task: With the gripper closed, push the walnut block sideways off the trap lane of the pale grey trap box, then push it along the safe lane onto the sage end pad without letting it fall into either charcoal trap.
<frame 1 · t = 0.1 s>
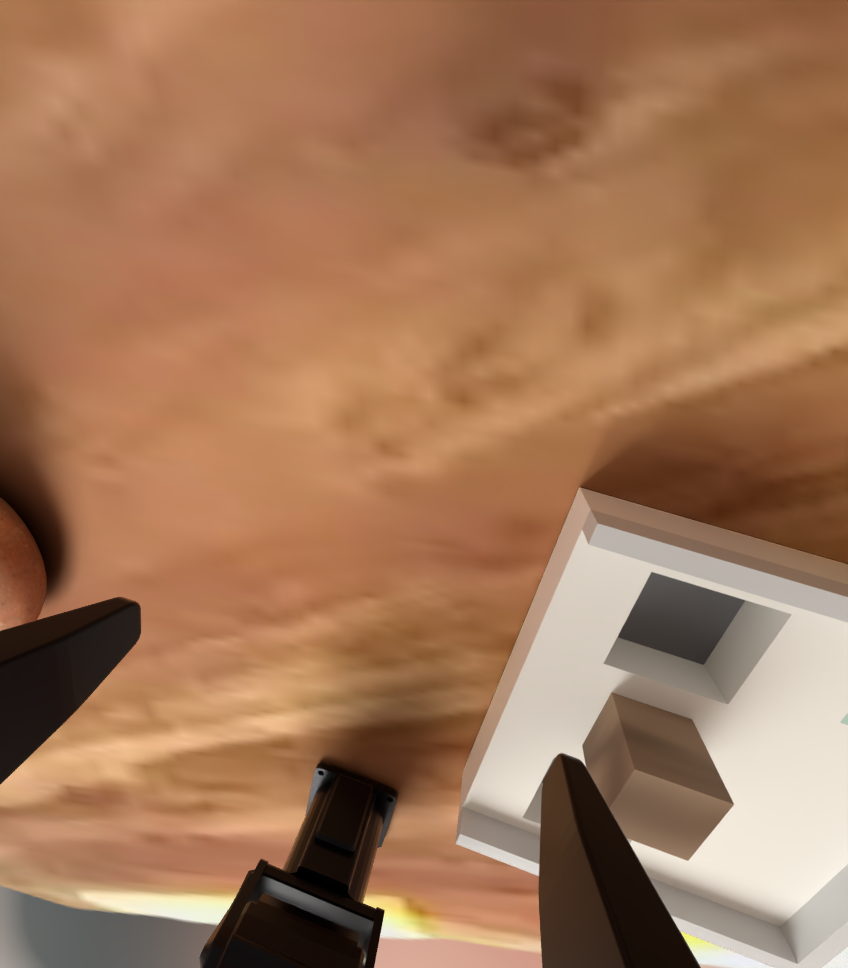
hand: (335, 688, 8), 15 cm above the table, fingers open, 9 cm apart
walnut block: (634, 733, 21), point 3 cm above the table, touching trap box
trap box: (680, 707, 23), on the table
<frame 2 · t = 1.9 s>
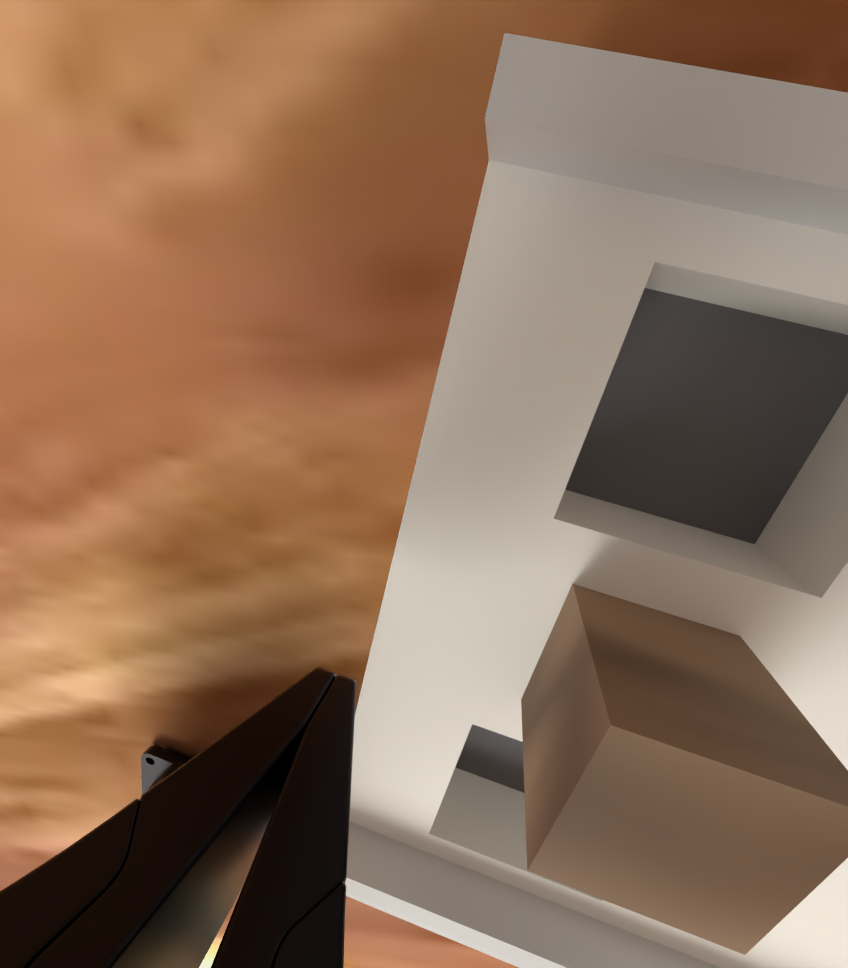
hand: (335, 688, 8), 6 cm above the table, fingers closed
walnut block: (620, 670, 10), point 3 cm above the table, touching trap box
trap box: (706, 636, 13), on the table
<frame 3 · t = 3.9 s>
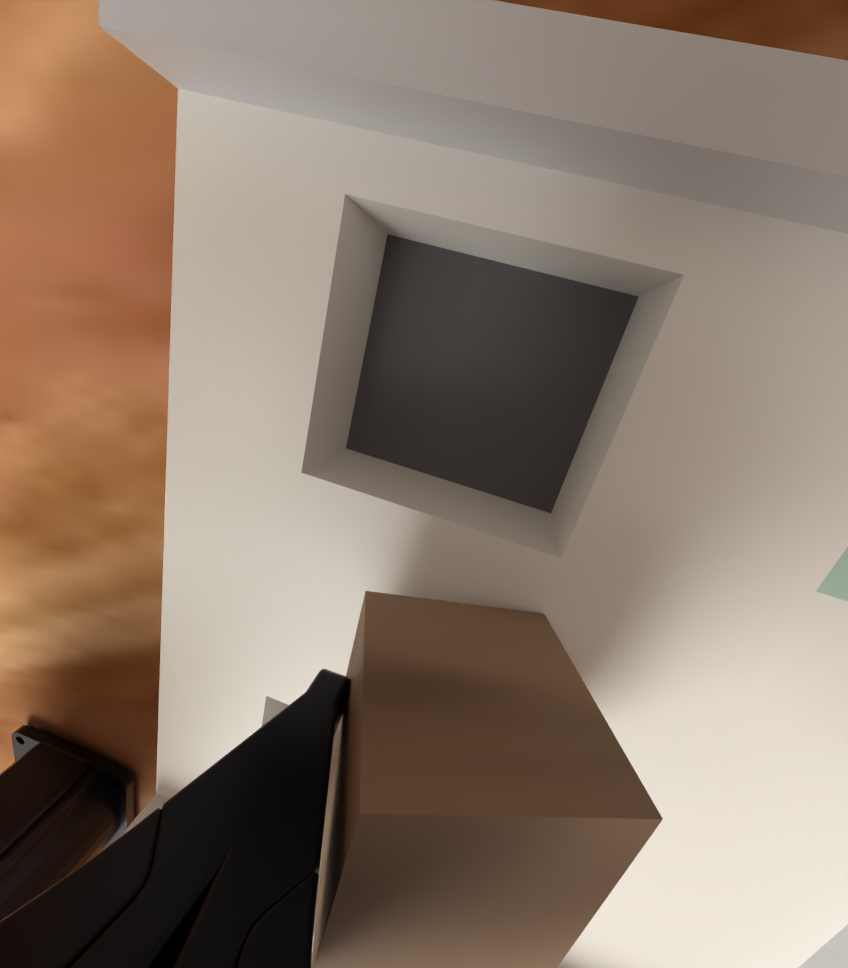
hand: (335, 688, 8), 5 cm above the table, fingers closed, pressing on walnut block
walnut block: (435, 672, 9), point 4 cm above the table, tilted 19°, touching gripper, trap box
trap box: (525, 613, 12), on the table
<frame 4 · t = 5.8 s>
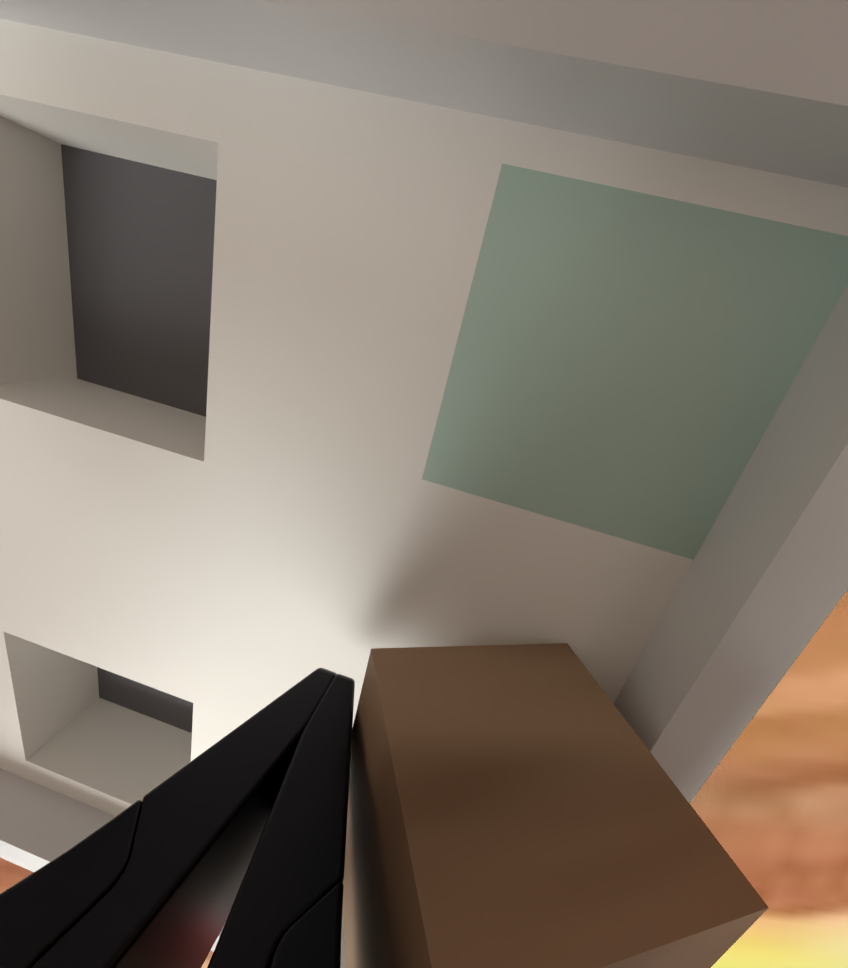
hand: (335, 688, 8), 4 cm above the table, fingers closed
walnut block: (450, 721, 8), point 4 cm above the table, tilted 27°, touching gripper, trap box
trap box: (282, 546, 12), on the table
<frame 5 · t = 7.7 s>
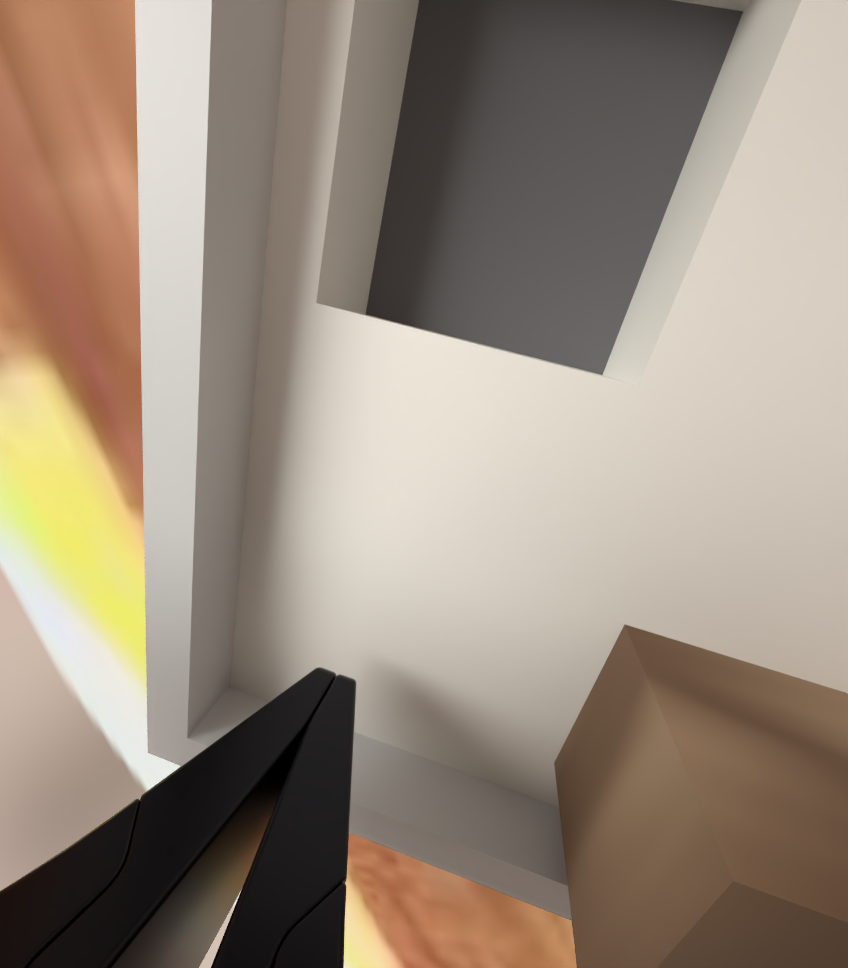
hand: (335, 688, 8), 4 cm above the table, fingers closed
walnut block: (684, 731, 8), point 3 cm above the table, touching trap box
trap box: (746, 436, 9), on the table
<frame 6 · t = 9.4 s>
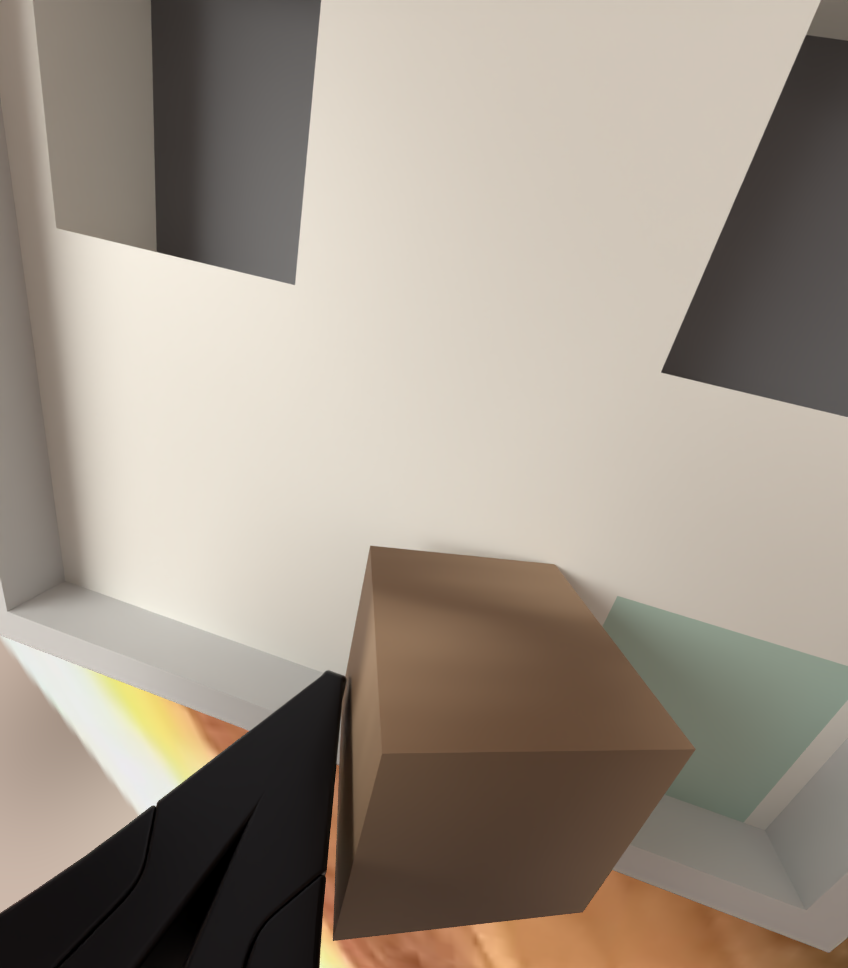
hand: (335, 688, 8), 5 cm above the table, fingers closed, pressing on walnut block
walnut block: (445, 630, 9), point 4 cm above the table, tilted 21°, touching gripper, trap box
trap box: (475, 350, 10), on the table
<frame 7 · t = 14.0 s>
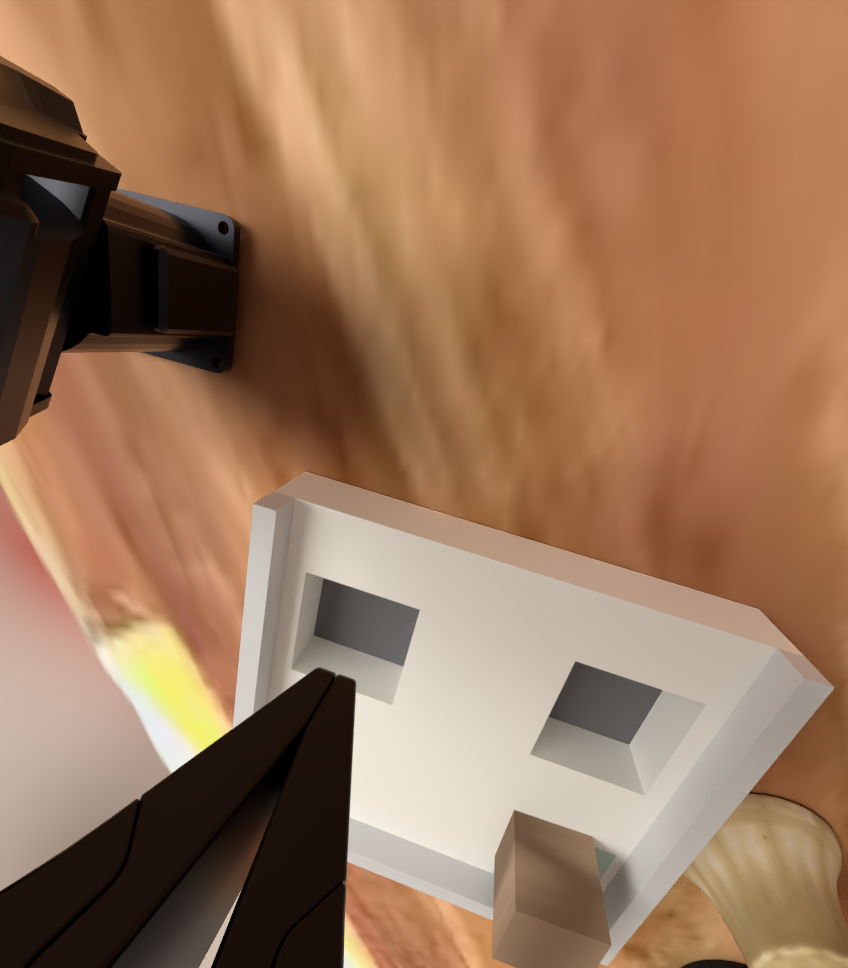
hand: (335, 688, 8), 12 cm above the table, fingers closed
hand bell: (744, 840, 23), on the table
walnut block: (541, 846, 21), point 3 cm above the table, touching trap box
trap box: (463, 688, 23), on the table
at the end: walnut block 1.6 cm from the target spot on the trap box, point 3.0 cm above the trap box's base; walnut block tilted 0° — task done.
